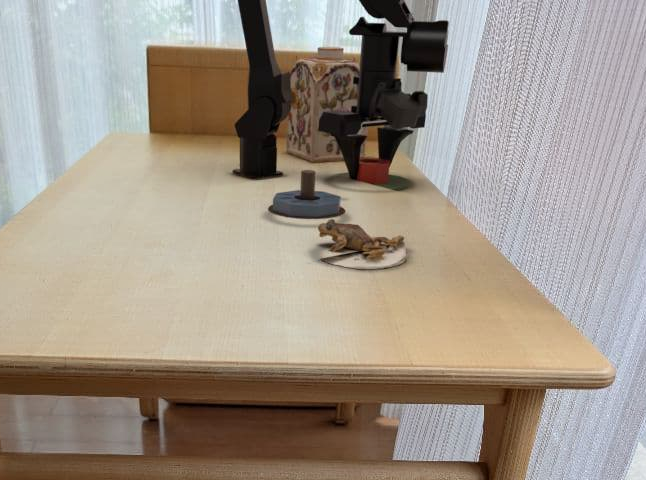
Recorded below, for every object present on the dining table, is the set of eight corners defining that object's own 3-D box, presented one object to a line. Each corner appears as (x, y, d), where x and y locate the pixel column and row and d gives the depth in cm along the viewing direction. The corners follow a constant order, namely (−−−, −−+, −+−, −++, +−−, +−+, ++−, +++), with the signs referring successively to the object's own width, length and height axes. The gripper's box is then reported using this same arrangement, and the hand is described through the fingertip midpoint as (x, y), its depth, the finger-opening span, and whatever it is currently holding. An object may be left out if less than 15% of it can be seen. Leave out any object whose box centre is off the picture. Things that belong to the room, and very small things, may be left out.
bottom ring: (261, 206, 116) (261, 195, 115) (311, 199, 121) (311, 187, 120) (301, 220, 110) (302, 207, 109) (352, 211, 115) (353, 199, 114)
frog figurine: (307, 266, 96) (309, 232, 94) (319, 240, 106) (320, 208, 103) (405, 272, 94) (409, 238, 92) (408, 245, 104) (411, 214, 102)
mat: (309, 179, 138) (309, 177, 137) (370, 171, 145) (370, 169, 144) (365, 195, 128) (366, 192, 128) (428, 185, 135) (428, 183, 135)
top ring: (341, 178, 137) (342, 159, 135) (369, 175, 140) (371, 156, 138) (367, 185, 132) (369, 165, 131) (395, 181, 136) (397, 162, 134)
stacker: (252, 213, 117) (252, 168, 113) (311, 204, 122) (313, 161, 119) (300, 230, 110) (302, 182, 106) (361, 219, 115) (364, 174, 112)
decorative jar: (311, 163, 150) (316, 49, 140) (283, 152, 159) (287, 44, 149) (367, 159, 154) (376, 48, 144) (337, 149, 163) (344, 44, 153)
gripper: (369, 77, 117) (359, 192, 126) (457, 72, 127) (442, 180, 135) (319, 70, 125) (313, 180, 133) (406, 66, 134) (395, 169, 143)
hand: (368, 177), depth 136 cm, fingers closed on top ring, 6 cm apart
